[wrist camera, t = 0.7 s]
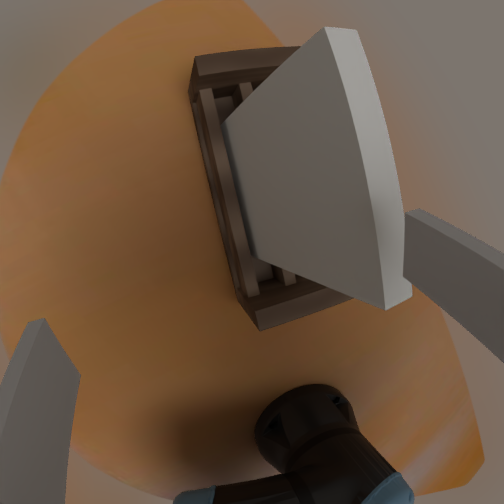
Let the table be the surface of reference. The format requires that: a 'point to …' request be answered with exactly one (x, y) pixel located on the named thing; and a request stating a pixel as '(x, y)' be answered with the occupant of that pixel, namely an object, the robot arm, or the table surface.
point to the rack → (224, 194)
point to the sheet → (321, 172)
